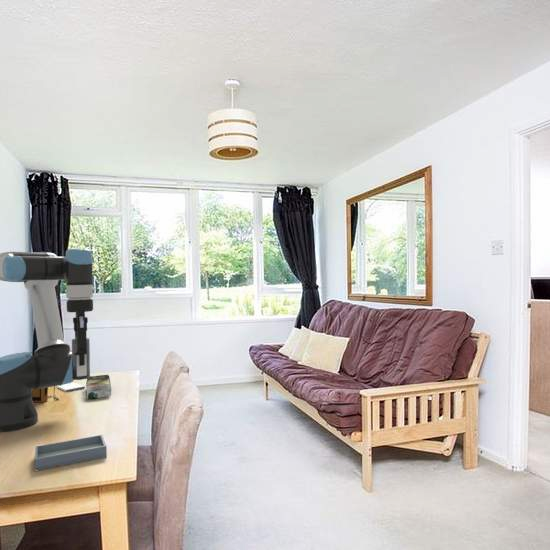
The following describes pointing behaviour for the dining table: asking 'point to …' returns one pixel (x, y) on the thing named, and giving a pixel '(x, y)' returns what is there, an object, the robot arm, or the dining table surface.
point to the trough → (69, 452)
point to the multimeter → (41, 394)
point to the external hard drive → (70, 387)
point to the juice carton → (98, 386)
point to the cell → (74, 360)
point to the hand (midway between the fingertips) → (81, 373)
